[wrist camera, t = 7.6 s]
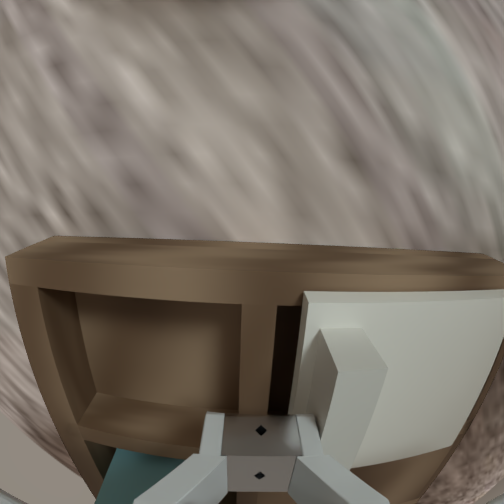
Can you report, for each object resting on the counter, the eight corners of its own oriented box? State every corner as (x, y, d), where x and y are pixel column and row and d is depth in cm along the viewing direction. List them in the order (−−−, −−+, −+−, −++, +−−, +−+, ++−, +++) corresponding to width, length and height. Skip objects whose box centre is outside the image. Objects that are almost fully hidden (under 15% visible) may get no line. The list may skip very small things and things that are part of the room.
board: (482, 253, 12) (529, 275, 9) (399, 470, 16) (414, 504, 13) (54, 236, 12) (4, 256, 8) (113, 468, 16) (99, 504, 12)
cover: (503, 289, 9) (551, 318, 6) (444, 435, 11) (468, 473, 8) (303, 290, 9) (325, 342, 6) (279, 459, 10) (285, 514, 8)
